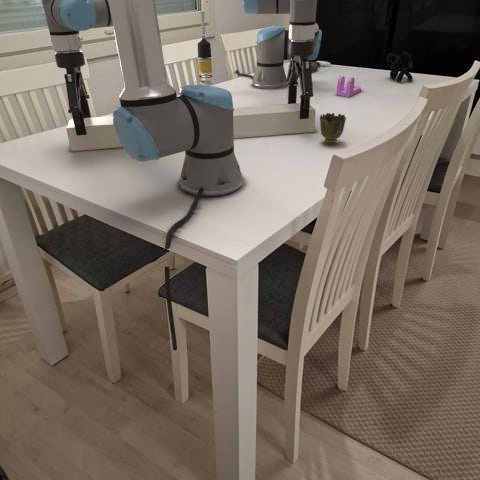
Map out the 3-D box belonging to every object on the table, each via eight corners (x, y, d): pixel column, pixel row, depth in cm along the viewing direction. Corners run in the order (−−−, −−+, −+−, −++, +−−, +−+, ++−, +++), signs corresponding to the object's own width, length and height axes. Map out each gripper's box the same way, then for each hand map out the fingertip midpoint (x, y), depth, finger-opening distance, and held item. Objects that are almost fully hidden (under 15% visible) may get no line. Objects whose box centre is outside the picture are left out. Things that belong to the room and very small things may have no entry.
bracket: (349, 96, 177) (351, 78, 174) (336, 94, 180) (337, 76, 177) (362, 90, 186) (364, 72, 182) (350, 88, 189) (352, 71, 185)
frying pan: (288, 71, 219) (314, 64, 235) (307, 74, 213) (332, 66, 229) (288, 65, 217) (314, 58, 233) (307, 68, 211) (333, 60, 228)
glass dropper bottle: (214, 91, 188) (211, 12, 172) (202, 93, 186) (197, 13, 170) (210, 88, 192) (206, 11, 176) (198, 90, 190) (193, 11, 175)
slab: (71, 151, 131) (65, 127, 127) (75, 141, 138) (70, 119, 135) (314, 131, 142) (315, 109, 138) (305, 123, 149) (307, 102, 145)
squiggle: (400, 92, 202) (376, 71, 205) (417, 76, 202) (392, 56, 205) (405, 81, 191) (380, 59, 194) (423, 64, 191) (397, 42, 194)
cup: (314, 144, 132) (316, 118, 127) (322, 137, 137) (324, 111, 133) (339, 148, 129) (341, 121, 124) (346, 140, 134) (349, 114, 130)
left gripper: (76, 57, 111) (93, 140, 122) (87, 44, 132) (101, 115, 143) (45, 59, 110) (65, 142, 121) (61, 45, 131) (76, 117, 142)
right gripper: (328, 46, 121) (321, 123, 132) (301, 33, 142) (297, 100, 153) (301, 48, 120) (297, 125, 131) (278, 34, 141) (276, 102, 152)
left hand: (84, 127), depth 132 cm, fingers open, 13 cm apart
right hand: (297, 112), depth 142 cm, fingers open, 13 cm apart
